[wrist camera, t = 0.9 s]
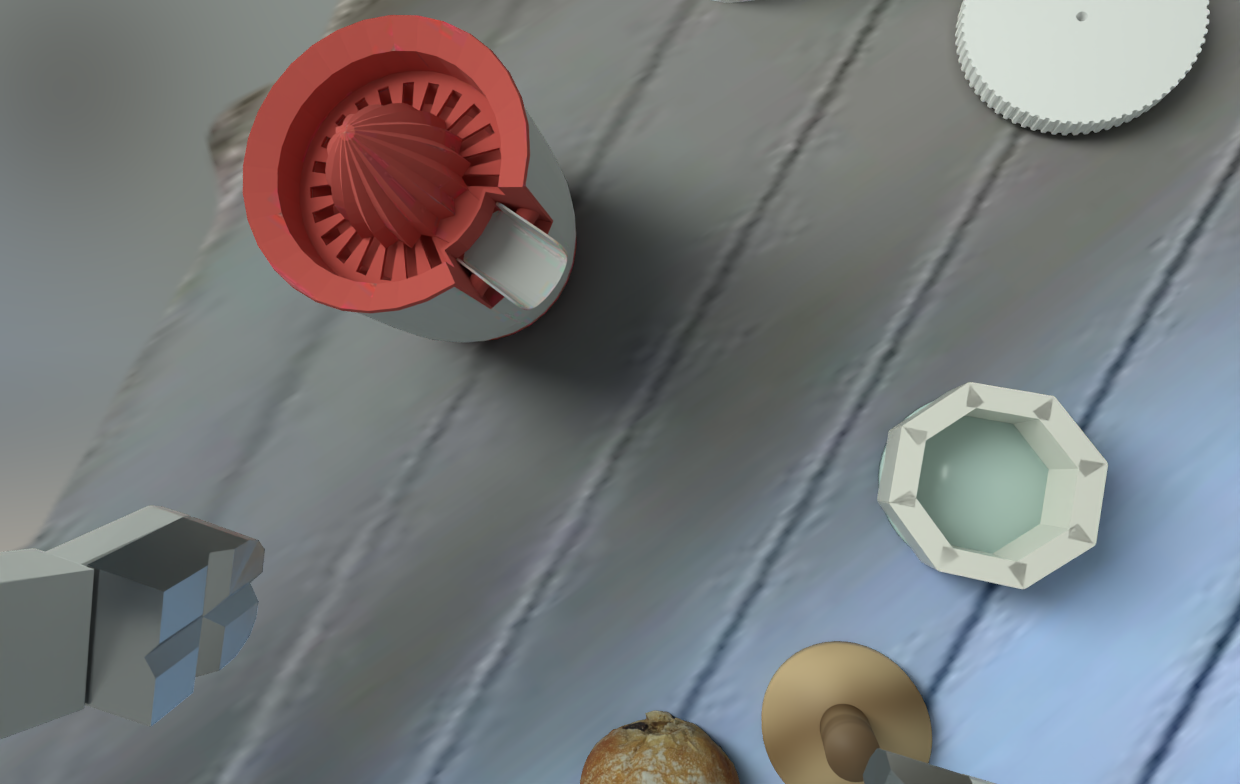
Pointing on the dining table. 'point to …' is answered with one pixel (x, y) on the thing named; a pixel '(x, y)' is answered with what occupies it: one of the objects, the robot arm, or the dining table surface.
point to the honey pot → (732, 1)
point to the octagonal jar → (992, 484)
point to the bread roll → (658, 755)
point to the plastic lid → (1077, 57)
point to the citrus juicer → (410, 183)
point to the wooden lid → (841, 714)
